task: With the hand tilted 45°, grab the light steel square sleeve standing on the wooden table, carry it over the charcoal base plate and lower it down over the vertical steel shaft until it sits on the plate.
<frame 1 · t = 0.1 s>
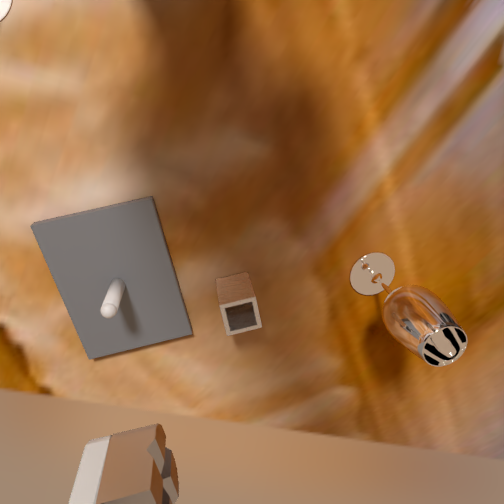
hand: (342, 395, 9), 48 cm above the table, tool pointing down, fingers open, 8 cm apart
wineglass: (371, 273, 64), on the table
steel sleeve: (234, 289, 62), on the table
shaft plate: (119, 280, 58), on the table
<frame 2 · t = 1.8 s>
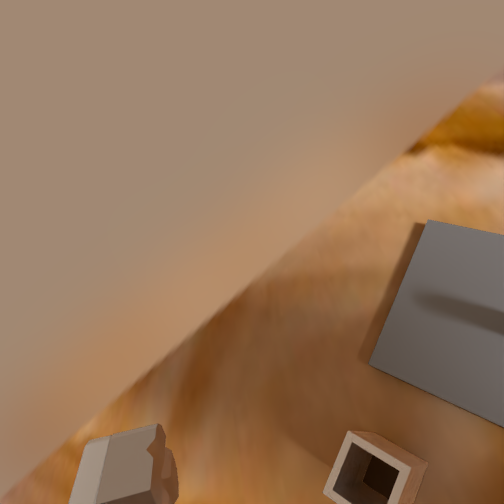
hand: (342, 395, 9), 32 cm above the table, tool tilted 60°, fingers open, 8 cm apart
steel sleeve: (389, 474, 36), on the table
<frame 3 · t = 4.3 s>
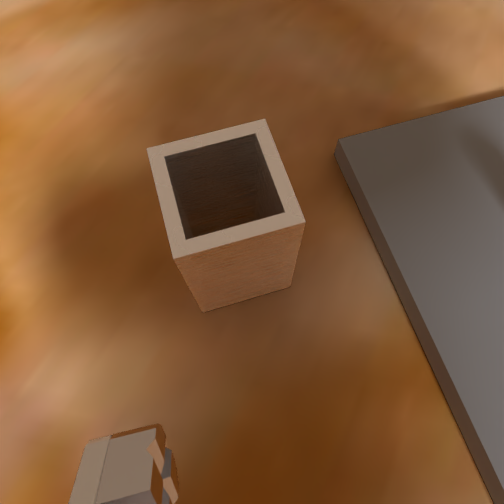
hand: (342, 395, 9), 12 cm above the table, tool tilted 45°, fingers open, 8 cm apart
steel sleeve: (234, 259, 23), on the table
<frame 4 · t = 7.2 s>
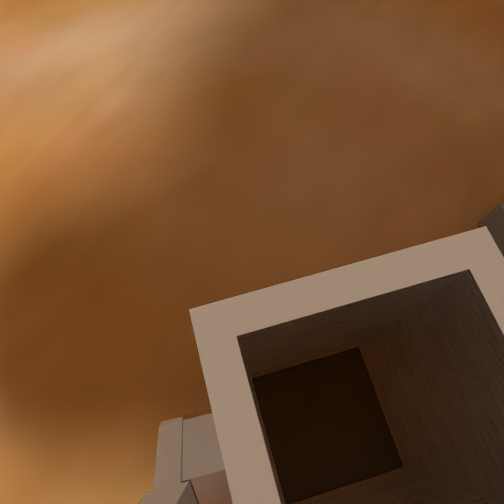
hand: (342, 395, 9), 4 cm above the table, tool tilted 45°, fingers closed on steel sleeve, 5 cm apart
steel sleeve: (324, 420, 13), on the table, touching gripper
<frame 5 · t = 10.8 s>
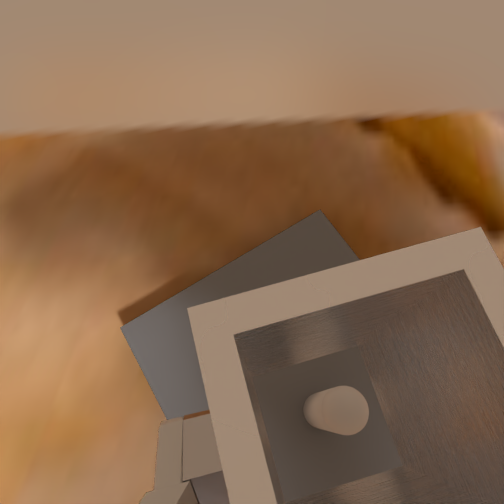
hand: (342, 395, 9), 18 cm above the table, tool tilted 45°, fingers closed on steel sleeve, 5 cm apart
steel sleeve: (323, 419, 13), point 13 cm above the table, touching gripper
shaft plate: (316, 410, 25), on the table
when the fingers open (7 cm above the table, at t = 14.2 s): steel sleeve stays where it is, resting on shaft plate.
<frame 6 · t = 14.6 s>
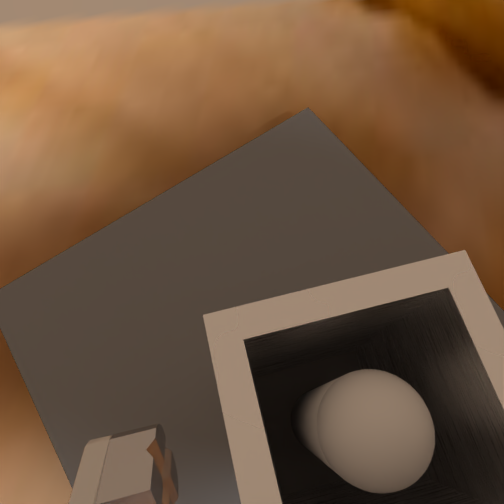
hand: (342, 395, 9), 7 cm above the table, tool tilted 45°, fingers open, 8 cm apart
steel sleeve: (320, 419, 14), point 1 cm above the table, touching shaft plate
shaft plate: (314, 419, 15), on the table
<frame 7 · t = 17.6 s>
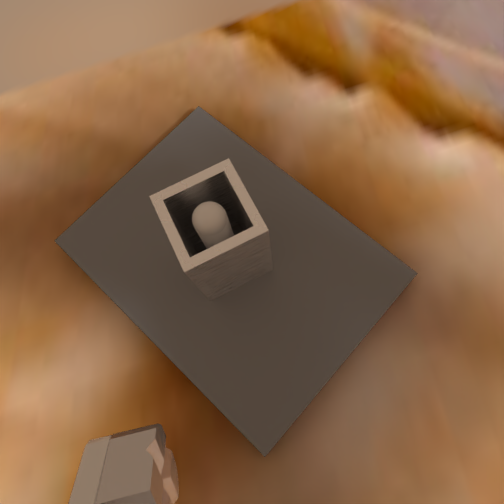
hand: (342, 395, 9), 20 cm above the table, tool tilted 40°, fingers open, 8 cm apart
steel sleeve: (227, 255, 30), point 1 cm above the table, touching shaft plate
shaft plate: (229, 262, 31), on the table
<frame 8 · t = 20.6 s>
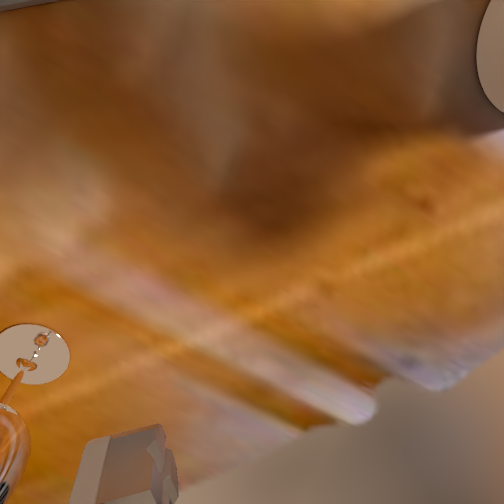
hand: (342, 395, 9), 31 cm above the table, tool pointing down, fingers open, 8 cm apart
wineglass: (33, 352, 42), on the table
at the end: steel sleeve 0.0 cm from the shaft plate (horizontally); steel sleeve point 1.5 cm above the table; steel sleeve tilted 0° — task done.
